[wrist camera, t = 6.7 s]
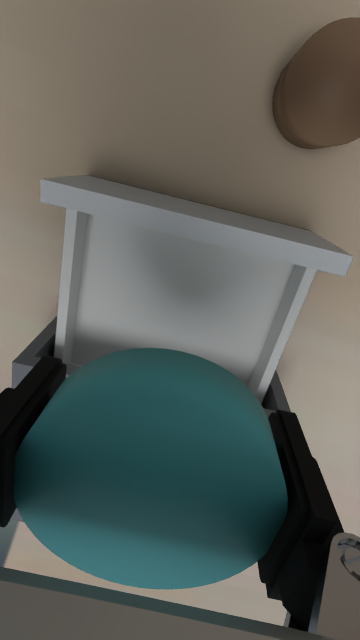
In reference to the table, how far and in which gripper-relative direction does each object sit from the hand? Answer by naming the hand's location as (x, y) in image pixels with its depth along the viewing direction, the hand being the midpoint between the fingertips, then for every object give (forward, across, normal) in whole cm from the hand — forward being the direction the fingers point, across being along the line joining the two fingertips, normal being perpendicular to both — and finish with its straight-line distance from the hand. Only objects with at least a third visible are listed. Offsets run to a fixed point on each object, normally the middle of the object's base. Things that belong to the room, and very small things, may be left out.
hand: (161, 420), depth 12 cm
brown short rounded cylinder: (+14, -5, -13) cm, 19 cm away
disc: (-1, 0, 0) cm, 1 cm away
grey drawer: (+14, 0, +1) cm, 14 cm away
